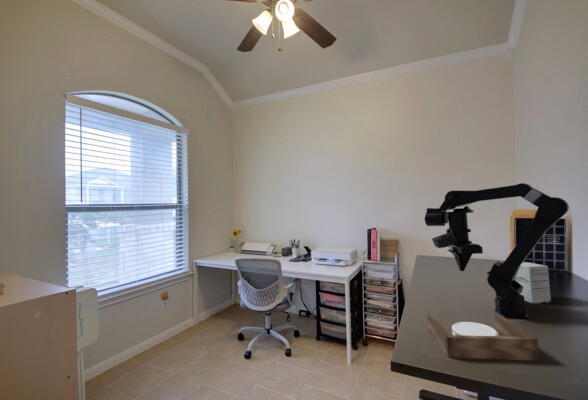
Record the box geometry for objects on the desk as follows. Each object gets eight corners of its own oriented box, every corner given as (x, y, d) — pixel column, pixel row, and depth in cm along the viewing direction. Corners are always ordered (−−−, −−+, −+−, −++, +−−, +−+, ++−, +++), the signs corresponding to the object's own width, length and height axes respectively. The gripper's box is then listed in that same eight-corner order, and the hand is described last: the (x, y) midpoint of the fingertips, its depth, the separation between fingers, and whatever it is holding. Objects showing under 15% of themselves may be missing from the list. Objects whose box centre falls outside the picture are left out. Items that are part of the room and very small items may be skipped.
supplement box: (513, 297, 100) (510, 263, 100) (531, 296, 100) (528, 261, 101) (532, 304, 92) (528, 266, 93) (552, 302, 93) (548, 265, 94)
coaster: (478, 356, 62) (476, 340, 62) (443, 338, 72) (442, 324, 72) (510, 348, 65) (509, 333, 65) (473, 331, 74) (472, 318, 75)
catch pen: (501, 332, 73) (499, 315, 73) (539, 360, 59) (537, 339, 59) (428, 330, 76) (427, 314, 76) (448, 357, 62) (447, 337, 62)
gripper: (425, 225, 106) (428, 266, 105) (443, 228, 87) (447, 277, 86) (456, 224, 104) (459, 265, 103) (481, 227, 85) (485, 277, 85)
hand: (461, 270), depth 94 cm, fingers closed
